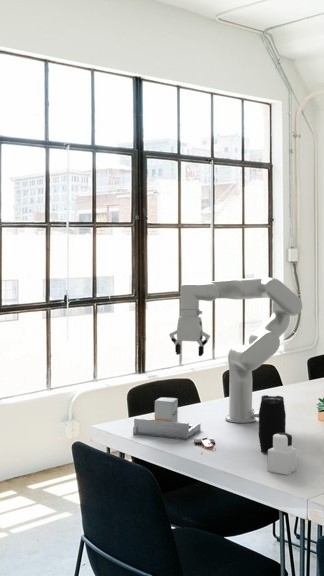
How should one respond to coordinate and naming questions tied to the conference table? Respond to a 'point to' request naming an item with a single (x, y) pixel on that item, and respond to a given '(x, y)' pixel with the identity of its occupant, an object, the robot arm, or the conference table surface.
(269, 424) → the portable speaker
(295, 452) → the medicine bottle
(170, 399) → the supplement box
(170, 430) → the grey tray
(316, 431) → the conference table surface
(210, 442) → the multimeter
